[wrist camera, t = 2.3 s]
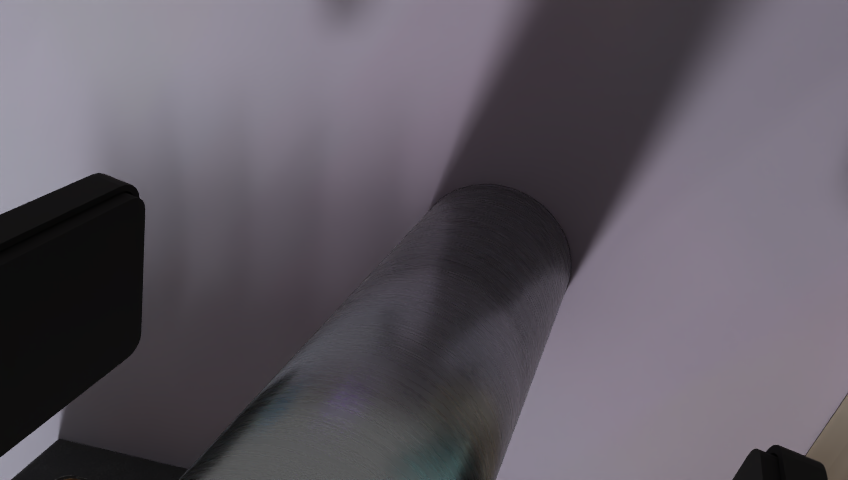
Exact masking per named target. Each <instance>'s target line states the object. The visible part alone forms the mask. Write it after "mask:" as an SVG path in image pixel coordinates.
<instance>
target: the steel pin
mask: <svg viewBox="0 0 848 480" xmlns="http://www.w3.org/2000/svg"><path fill="white" fill-rule="evenodd" d="M570 272H571V256H570V249H569V246H568V243H567V239H566V237H565V235H564V233H563V231H562V229H561V227H560V226H559V224H558V222H557V221H556V220H555V218H554V217H553V216H552V215H551V213H550V212H549V211H548V210H546V209H545V208H544V207H543V206H542V205H541V204H540V203H538V202H537V201H536V200H534V199H533V198H531V197H529V196H528V195H526V194H524V193H522V192H520V191H517V190H515V189H512V188H509V187H505V186H500V185H494V184H479V185H471V186H467V187H463V188H460V189H458V190H455V191H453V192H451V193H449V194H448V195H446V196H445V197H443V198H442V199H441V200H439V201H438V202H437V203H436V204H435V205H434V206H433V207H432V209H431V210H430V211H429V212H428V213H427V214H426V215H425V216H424V217H423V218H422V219H421V220H420V221H419V222H418V224H417V225H416V226H415V227H414V228H413V229H412V230H411V231H410V232H409V233H408V234H407V235H406V236H405V238H404V239H403V240H402V241H401V242H400V243H399V244H398V245H397V246H396V247H395V248H394V249H393V250H392V251H391V253H390V254H389V255H388V256H387V257H386V258H385V259H384V260H383V261H382V262H381V263H380V264H379V265H378V267H377V268H376V269H375V270H374V271H373V272H372V273H371V274H370V275H369V276H368V277H367V278H366V279H365V280H364V282H363V283H362V284H361V285H360V286H359V287H358V288H357V289H356V290H355V291H354V292H353V293H352V294H351V296H350V297H349V298H348V299H347V300H346V301H345V302H344V303H343V304H342V305H341V306H340V307H339V308H338V309H337V311H336V312H335V313H334V314H333V315H332V316H331V317H330V318H329V319H328V320H327V321H326V322H325V323H324V325H323V326H322V327H321V328H320V329H319V330H318V331H317V332H316V333H315V334H314V335H313V336H312V337H311V338H310V340H309V341H308V342H307V343H306V344H305V345H304V346H303V347H302V348H301V349H300V350H299V351H298V352H297V354H296V355H295V356H294V357H293V358H292V359H291V360H290V361H289V362H288V363H287V364H286V365H285V366H284V367H283V369H282V370H281V371H280V372H279V373H278V374H277V375H276V376H275V377H274V378H273V379H272V380H271V381H270V383H269V384H268V385H267V386H266V387H265V388H264V389H263V390H262V391H261V392H260V393H259V394H258V395H257V396H256V398H255V399H254V400H253V401H252V402H251V403H250V404H249V405H248V406H247V407H246V408H245V409H244V410H243V412H242V413H241V414H240V415H239V416H238V417H237V418H236V419H235V420H234V421H233V422H232V423H231V424H230V425H229V427H228V428H227V429H226V430H225V431H224V432H223V433H222V434H221V435H220V436H219V437H218V438H217V439H216V441H215V442H214V443H213V444H212V445H211V446H210V447H209V448H208V449H207V450H206V451H205V452H204V453H203V454H202V456H201V457H200V458H199V459H198V460H197V461H196V462H195V463H194V464H193V465H192V466H191V467H190V468H189V469H188V471H187V472H186V473H185V474H184V475H183V476H182V477H181V478H180V479H179V480H496V478H497V475H498V472H499V470H500V467H501V464H502V462H503V459H504V456H505V453H506V451H507V448H508V445H509V443H510V440H511V437H512V434H513V432H514V429H515V426H516V424H517V421H518V418H519V416H520V413H521V410H522V407H523V405H524V402H525V399H526V397H527V394H528V391H529V388H530V386H531V383H532V380H533V378H534V375H535V372H536V370H537V367H538V364H539V361H540V359H541V356H542V353H543V351H544V348H545V345H546V342H547V340H548V337H549V334H550V332H551V329H552V326H553V324H554V321H555V318H556V315H557V313H558V310H559V307H560V305H561V302H562V299H563V296H564V294H565V291H566V288H567V285H568V282H569V279H570Z"/></svg>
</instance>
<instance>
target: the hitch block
mask: <svg viewBox="0 0 848 480" xmlns="http://www.w3.org/2000/svg"><path fill="white" fill-rule="evenodd" d="M806 457H809V458H811V459H814V460H816V461H819V462H821V463H822V464H823V465H824V467H825V469H826V473H827V477H828V480H848V395H847V396H846V398H845V399H844V401H843V402H842V404H841V405H840V406H839V408H838V409H837V411H836V412H835V414H834V415H833V417H832V418H831V420H830V421H829V423H828V424H827V425H826V427H825V428H824V430H823V431H822V433H821V434H820V436H819V437H818V439H817V440H816V441H815V443H814V444H813V446H812V447H811V449H810V450H809V452H808V453H807V455H806Z"/></svg>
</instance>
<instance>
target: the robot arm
mask: <svg viewBox="0 0 848 480" xmlns="http://www.w3.org/2000/svg"><path fill="white" fill-rule="evenodd" d="M144 230H145V204H144V202H143V200H141V199H140V198H139V193H138V191H137V189H136V188H135V187H134V186H133V185H130V184H128V183H125V182H123V181H120V180H118V179H115V178H113V177H111V176H108V175H106V174H102V173H97V174H92V175H90V176H88V177H86V178H83V179H81V180H79V181H76V182H74V183H72V184H70V185H67V186H65V187H63V188H60V189H58V190H56V191H53V192H51V193H49V194H47V195H44V196H42V197H40V198H37V199H35V200H33V201H31V202H28V203H26V204H24V205H21V206H19V207H17V208H14V209H12V210H10V211H8V212H5V213H3V214H1V215H0V457H1V456H3V455H4V454H5V453H6V452H8V451H9V450H10V449H12V448H13V447H14V446H15V445H17V444H18V443H19V442H20V441H22V440H23V439H24V438H26V437H27V436H28V435H29V434H31V433H32V432H33V431H35V430H36V429H37V428H38V427H40V426H41V425H42V424H44V423H45V422H46V421H47V420H49V419H50V418H51V417H52V416H54V415H55V414H56V413H58V412H59V411H60V410H61V409H63V408H64V407H65V406H67V405H68V404H69V403H70V402H72V401H73V400H74V399H76V398H77V397H78V396H79V395H81V394H82V393H83V392H84V391H86V390H87V389H88V388H90V387H91V386H92V385H93V384H95V383H96V382H97V381H99V380H100V379H101V378H102V377H104V376H105V375H106V374H107V373H109V372H110V371H111V370H113V369H114V368H115V367H116V366H118V365H119V364H120V363H122V362H123V361H124V360H125V359H127V358H128V357H129V356H130V355H131V354H132V353H133V352H134V350H135V349H136V347H137V345H138V344H139V341H140V338H141V322H142V292H143V261H144ZM733 480H828V477H827V473H826V469H825V467H824V465H823V464H822V463H821V462H819V461H816V460H814V459H811V458H809V457H806V456H804V455H801V454H799V453H796V452H794V451H791V450H789V449H786V448H784V447H782V446H779V445H773V446H772V447H770V448H769V449H768V450H767V451H766V452H764V451H761V450H759V449H754V450H752V451H751V452H750V453H749V455H748V456H747V458H746V459H745V461H744V462H743V464H742V466H741V467H740V469H739V470H738V472H737V473H736V475H735V477H734V478H733Z"/></svg>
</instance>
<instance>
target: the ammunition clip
mask: <svg viewBox="0 0 848 480" xmlns="http://www.w3.org/2000/svg"><path fill="white" fill-rule="evenodd" d="M187 471H188V469H185V468H180V467H176V466H172V465H168V464H164V463H159V462H155V461H151V460H147V459H143V458H138V457H134V456H130V455H126V454H122V453H117V452H113V451H109V450H105V449H101V448H96V447H92V446H88V445H84V444H80V443H75V442H71V441H67V440H63V439H58V440H57V441H56V442H55V443H53V444H52V445H51V446H50V447H49V448H48V449H46V450H45V451H44V452H43V453H42V454H41V455H39V456H38V457H37V458H36V459H35V460H34V461H32V462H31V463H30V464H29V465H28V466H27V467H25V468H24V469H23V470H22V471H21V472H20V473H18V474H17V475H16V476H15V477H14V478H13V479H11V480H179V479H180V478H181V477H182V476H183V475H184V474H185V473H186V472H187Z"/></svg>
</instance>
